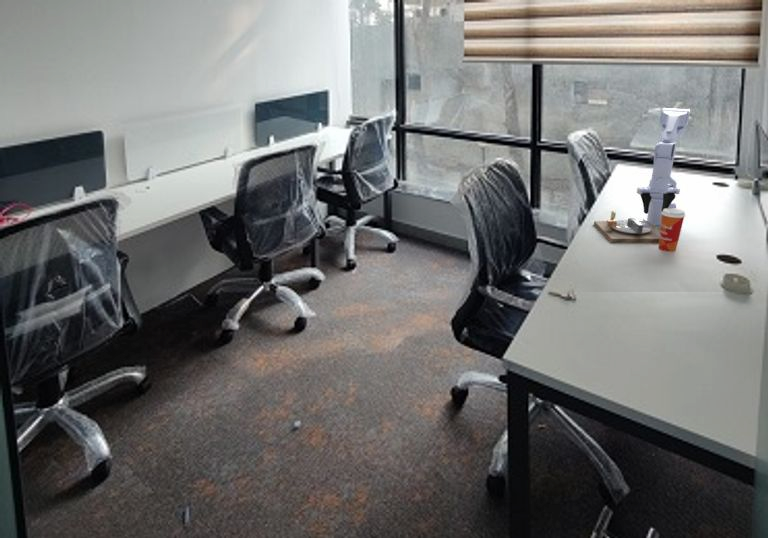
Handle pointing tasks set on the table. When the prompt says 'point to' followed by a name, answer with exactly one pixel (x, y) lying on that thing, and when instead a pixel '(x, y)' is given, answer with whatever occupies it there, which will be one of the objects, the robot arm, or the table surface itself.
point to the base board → (628, 238)
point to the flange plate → (629, 226)
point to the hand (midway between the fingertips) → (654, 212)
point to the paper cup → (670, 228)
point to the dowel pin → (613, 215)
